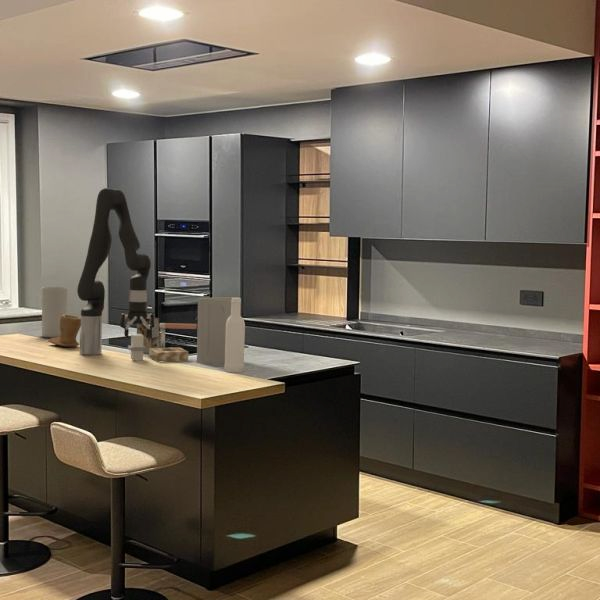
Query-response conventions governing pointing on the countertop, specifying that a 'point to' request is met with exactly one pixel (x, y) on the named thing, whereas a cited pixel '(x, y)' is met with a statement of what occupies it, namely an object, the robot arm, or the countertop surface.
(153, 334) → the coffee box
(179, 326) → the bar
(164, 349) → the socket block
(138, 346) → the plug
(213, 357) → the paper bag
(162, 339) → the clip post
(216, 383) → the countertop surface
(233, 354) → the bottle
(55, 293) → the cylinder vase
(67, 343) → the brown boot-shaped piece
